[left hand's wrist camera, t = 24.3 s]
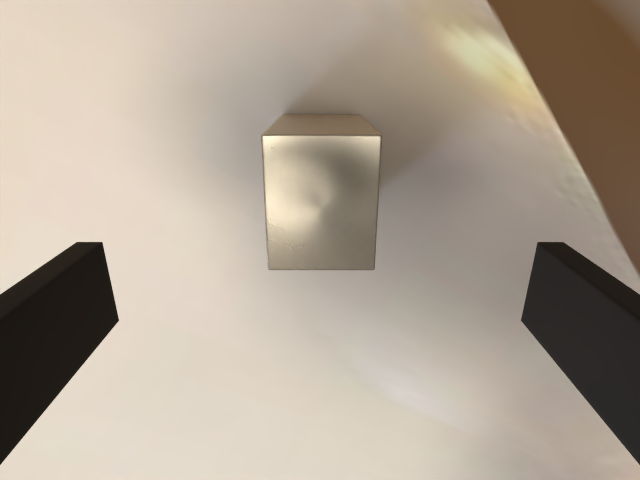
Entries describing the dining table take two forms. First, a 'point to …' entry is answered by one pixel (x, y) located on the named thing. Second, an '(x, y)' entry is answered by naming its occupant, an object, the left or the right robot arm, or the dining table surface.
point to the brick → (321, 192)
